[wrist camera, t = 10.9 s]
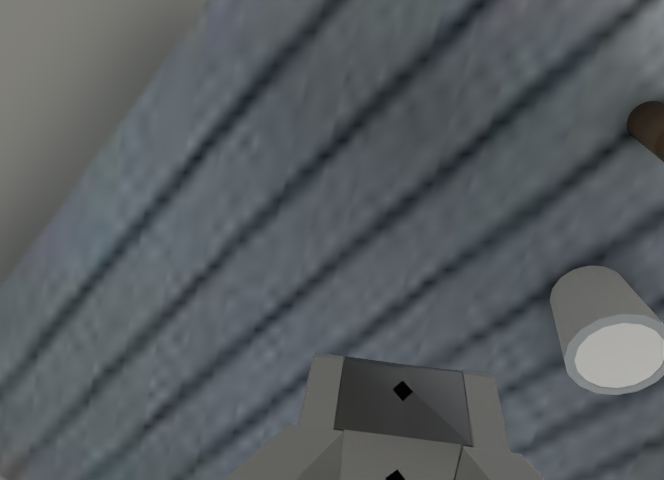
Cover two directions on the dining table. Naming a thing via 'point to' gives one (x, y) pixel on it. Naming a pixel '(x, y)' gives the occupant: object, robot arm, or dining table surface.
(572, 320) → the shot glass
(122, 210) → the dining table surface
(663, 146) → the post
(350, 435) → the robot arm
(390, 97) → the dining table surface
